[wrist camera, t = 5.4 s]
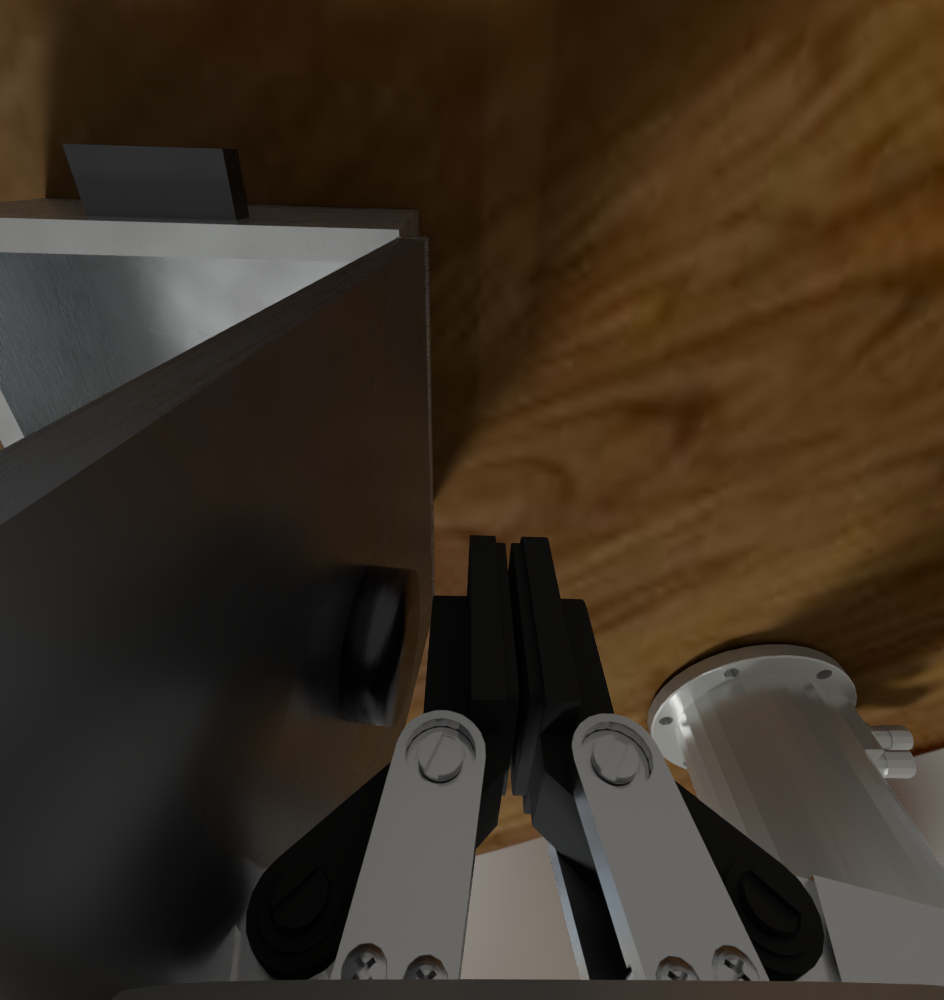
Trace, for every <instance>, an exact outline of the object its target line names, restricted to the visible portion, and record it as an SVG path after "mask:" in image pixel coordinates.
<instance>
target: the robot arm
mask: <svg viewBox="0 0 944 1000" xmlns="http://www.w3.org/2000/svg"><path fill="white" fill-rule="evenodd" d="M856 700H857V694H856V689H855V685H854V684H853V682H852V681H851V679H850V678H849V676H848V675H847V673H846V672H845V670H844V669H843V668H842V667H841V666H840V665H839V664H838V662H837V661H836V660H834V659H833V658H831V657H829V656H828V655H826V654H824V653H822V652H819V651H816V650H813V649H810V648H807V647H801V646H795V645H788V644H765V645H756V646H747V647H743V648H738V649H734V650H729V651H726V652H723V653H720V654H717V655H714V656H711V657H709V658H706V659H704V660H702V661H700V662H698V663H696V664H694V665H692V666H690V667H688V668H687V669H685V670H684V671H682V672H681V673H679V674H678V675H676V676H675V677H674V678H673V679H672V680H670V681H669V682H668V683H667V684H666V685H665V686H664V687H663V688H662V689H661V690H660V692H659V693H658V694H657V696H656V697H655V698H654V700H653V702H652V704H651V707H650V709H649V712H648V720H647V723H648V728H649V732H650V734H649V733H648V732H647V731H646V730H645V729H643V728H642V727H641V726H640V725H639V724H637V723H635V722H634V721H632V720H630V719H628V718H626V717H623V716H620V715H616V714H614V711H613V707H612V703H611V699H610V696H609V692H608V688H607V684H606V680H605V676H604V673H603V669H602V665H601V661H600V657H599V653H598V650H597V646H596V642H595V638H594V634H593V630H592V627H591V623H590V619H589V615H588V611H587V608H586V605H585V602H584V601H583V600H582V599H561V598H560V594H559V589H558V584H557V579H556V574H555V569H554V565H553V560H552V555H551V550H550V545H549V541H548V538H547V537H521V541H520V543H512V544H511V551H510V560H509V569H508V567H507V557H506V546H505V543H496V537H495V536H480V535H470V546H469V566H468V585H467V596H433V600H432V612H431V624H430V637H429V650H428V662H427V675H426V687H425V700H424V713H423V714H422V715H420V716H418V717H417V718H415V719H413V720H412V721H411V722H410V723H409V724H408V725H407V726H406V727H405V728H404V729H403V731H402V732H401V735H400V737H399V739H398V741H397V743H396V747H395V750H394V754H393V757H392V761H391V762H390V763H389V764H387V765H386V766H385V767H384V768H383V769H382V770H380V771H379V772H378V773H377V774H376V775H375V776H373V777H372V778H371V779H370V780H369V781H367V782H366V783H365V784H364V785H363V786H362V787H360V788H359V789H358V790H357V791H356V792H355V793H353V794H352V795H351V796H350V797H349V798H348V799H346V800H345V801H344V802H343V803H342V804H340V805H339V806H338V807H337V808H336V809H335V810H333V811H332V812H331V813H330V814H329V815H328V816H326V817H325V818H324V819H323V820H322V821H320V822H319V823H318V824H317V825H316V826H315V827H313V828H312V829H311V830H310V831H309V832H308V833H306V834H305V835H304V836H303V837H302V838H301V839H299V840H298V841H297V842H296V843H295V844H293V845H292V846H291V847H290V848H289V849H288V850H286V851H285V852H284V853H283V854H282V855H281V856H279V857H278V858H277V859H276V860H275V861H274V862H273V863H272V864H271V865H270V866H269V867H268V868H264V869H262V870H261V873H260V875H259V878H258V880H257V883H256V885H255V888H254V890H253V891H252V894H251V898H250V901H249V903H248V906H247V908H246V911H245V913H244V916H243V918H242V921H241V923H240V926H239V928H237V926H236V924H235V927H234V929H233V932H232V934H231V937H230V939H229V942H228V944H227V947H226V949H225V952H224V954H223V957H222V959H221V962H220V964H219V967H218V969H217V972H216V974H215V977H214V979H213V981H212V982H195V983H182V984H170V985H157V986H146V987H140V988H135V989H129V990H124V991H121V992H120V993H118V994H117V995H116V996H115V997H113V998H112V999H111V1000H944V868H943V866H942V865H941V863H940V862H939V860H938V859H937V857H936V856H935V855H934V853H933V851H932V850H931V848H930V847H929V845H928V844H927V842H926V841H925V839H924V838H923V836H922V835H921V834H920V832H919V830H918V829H917V828H916V826H915V824H914V823H913V822H912V820H911V818H910V817H909V815H908V814H907V812H906V811H905V809H904V808H903V806H902V805H901V803H900V802H899V800H898V799H897V797H896V796H895V794H894V793H893V791H892V790H891V788H890V787H889V785H888V784H887V782H886V781H885V779H884V778H911V777H913V776H914V775H915V772H916V764H915V760H914V758H913V756H912V754H911V752H910V751H909V749H911V748H912V747H913V744H914V742H913V737H912V735H911V733H910V731H909V730H908V729H907V728H906V727H905V726H901V725H878V726H870V725H869V724H867V723H866V722H864V721H863V719H862V718H861V717H860V715H859V714H858V712H857V711H856V709H855V707H856ZM663 757H664V758H666V759H667V760H669V761H670V762H672V763H673V764H676V765H678V766H680V767H682V768H685V769H688V772H689V775H690V778H691V781H692V783H693V786H694V789H695V792H696V795H697V798H696V797H695V796H694V795H693V794H691V793H690V792H689V791H687V790H686V789H685V788H684V787H682V786H681V785H680V784H678V783H677V782H676V781H674V779H673V777H672V775H671V772H670V770H669V768H668V766H667V764H666V762H665V760H664V758H663ZM509 767H510V770H511V784H512V793H513V795H520V796H523V807H524V814H531V818H532V826H533V827H534V828H535V829H536V830H537V831H538V832H539V833H540V834H541V835H542V836H543V837H544V838H545V839H546V840H547V843H548V851H549V856H550V859H551V864H552V868H553V871H554V875H555V880H556V884H557V887H558V892H559V896H560V900H561V903H562V908H563V911H564V915H565V920H566V924H567V928H568V932H569V935H570V940H571V944H572V948H573V952H574V956H575V960H576V964H577V968H578V972H579V975H580V980H502V979H500V980H498V979H497V980H494V979H491V980H490V979H481V980H479V979H473V980H472V979H460V977H461V969H462V960H463V952H464V944H465V936H466V928H467V920H468V912H469V904H470V896H471V887H472V879H473V871H474V863H475V855H476V848H477V847H478V846H479V845H480V844H481V843H482V842H483V841H484V839H485V838H486V837H487V836H488V835H489V834H490V833H491V832H492V830H493V829H494V828H495V827H496V826H497V823H498V816H499V809H500V803H501V796H502V795H505V793H506V787H507V780H508V774H509Z"/></svg>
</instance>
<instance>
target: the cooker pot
mask: <svg viewBox="0 0 944 1000" xmlns="http://www.w3.org/2000/svg"><path fill="white" fill-rule="evenodd" d="M62 145H63V148H64V151H65V154H66V157H67V160H68V163H69V166H70V169H71V172H72V174H73V177H74V180H75V183H76V186H77V189H78V192H79V195H80V198H81V199H54V198H41V199H31V200H21V201H11V202H0V440H1V442H2V444H3V445H4V447H7V446H9V445H11V444H13V443H15V442H17V441H19V440H20V439H22V438H24V437H26V436H28V435H30V434H32V433H34V432H35V431H37V430H39V429H41V428H43V427H45V426H47V425H48V424H50V423H52V422H54V421H56V420H58V419H60V418H62V417H63V416H65V415H67V414H69V413H71V412H73V411H75V410H76V409H78V408H80V407H82V406H84V405H86V404H88V403H90V402H91V401H93V400H95V399H97V398H99V397H101V396H103V395H104V394H106V393H108V392H110V391H112V390H114V389H116V388H118V387H119V386H121V385H123V384H125V383H127V382H129V381H131V380H132V379H134V378H136V377H138V376H140V375H142V374H144V373H146V372H147V371H149V370H151V369H153V368H155V367H157V366H159V365H161V364H162V363H164V362H166V361H168V360H170V359H172V358H174V357H175V356H177V355H179V354H181V353H183V352H185V351H187V350H189V349H190V348H192V347H194V346H196V345H198V344H200V343H202V342H203V341H205V340H207V339H209V338H211V337H213V336H215V335H217V334H218V333H220V332H222V331H224V330H226V329H228V328H230V327H231V326H233V325H235V324H237V323H239V322H241V321H243V320H245V319H246V318H248V317H250V316H252V315H254V314H256V313H258V312H259V311H261V310H263V309H265V308H267V307H269V306H271V305H273V304H274V303H276V302H278V301H280V300H282V299H284V298H286V297H288V296H289V295H291V294H293V293H295V292H297V291H299V290H301V289H302V288H304V287H306V286H308V285H310V284H312V283H314V282H316V281H317V280H319V279H321V278H323V277H325V276H327V275H329V274H330V273H332V272H334V271H336V270H338V269H340V268H342V267H344V266H345V265H347V264H349V263H351V262H353V261H355V260H357V259H358V258H360V257H362V256H364V255H366V254H368V253H370V252H372V251H373V250H375V249H377V248H379V247H381V246H383V245H385V244H386V243H388V242H390V241H392V240H394V239H396V237H398V236H419V210H413V209H380V208H348V207H315V206H282V205H250V204H247V201H246V195H245V190H244V184H243V179H242V174H241V168H240V163H239V157H238V152H237V149H212V148H181V147H150V146H119V145H89V144H62Z"/></svg>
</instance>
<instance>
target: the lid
mask: <svg viewBox="0 0 944 1000" xmlns="http://www.w3.org/2000/svg"><path fill="white" fill-rule="evenodd" d="M433 596H435V570H434V512H433V454H432V396H431V338H430V279H429V238H428V237H425V236H398V237H396V239H394V240H392V241H390V242H388V243H386V244H385V245H383V246H381V247H379V248H377V249H375V250H373V251H372V252H370V253H368V254H366V255H364V256H362V257H360V258H358V259H357V260H355V261H353V262H351V263H349V264H347V265H345V266H344V267H342V268H340V269H338V270H336V271H334V272H332V273H330V274H329V275H327V276H325V277H323V278H321V279H319V280H317V281H316V282H314V283H312V284H310V285H308V286H306V287H304V288H302V289H301V290H299V291H297V292H295V293H293V294H291V295H289V296H288V297H286V298H284V299H282V300H280V301H278V302H276V303H274V304H273V305H271V306H269V307H267V308H265V309H263V310H261V311H259V312H258V313H256V314H254V315H252V316H250V317H248V318H246V319H245V320H243V321H241V322H239V323H237V324H235V325H233V326H231V327H230V328H228V329H226V330H224V331H222V332H220V333H218V334H217V335H215V336H213V337H211V338H209V339H207V340H205V341H203V342H202V343H200V344H198V345H196V346H194V347H192V348H190V349H189V350H187V351H185V352H183V353H181V354H179V355H177V356H175V357H174V358H172V359H170V360H168V361H166V362H164V363H162V364H161V365H159V366H157V367H155V368H153V369H151V370H149V371H147V372H146V373H144V374H142V375H140V376H138V377H136V378H134V379H132V380H131V381H129V382H127V383H125V384H123V385H121V386H119V387H118V388H116V389H114V390H112V391H110V392H108V393H106V394H104V395H103V396H101V397H99V398H97V399H95V400H93V401H91V402H90V403H88V404H86V405H84V406H82V407H80V408H78V409H76V410H75V411H73V412H71V413H69V414H67V415H65V416H63V417H62V418H60V419H58V420H56V421H54V422H52V423H50V424H48V425H47V426H45V427H43V428H41V429H39V430H37V431H35V432H34V433H32V434H30V435H28V436H26V437H24V438H22V439H20V440H19V441H17V442H15V443H13V444H11V445H9V446H7V447H5V448H4V449H2V450H0V1000H111V999H112V998H113V997H115V996H116V995H117V994H118V993H120V992H121V991H124V990H129V989H135V988H140V987H146V986H157V985H170V984H182V983H195V982H212V981H213V979H214V977H215V974H216V972H217V969H218V967H219V964H220V962H221V959H222V957H223V954H224V952H225V949H226V947H227V944H228V942H229V939H230V937H231V934H232V932H233V929H234V927H235V924H236V926H237V928H239V926H240V923H241V921H242V918H243V916H244V913H245V911H246V908H247V906H248V903H249V901H250V898H251V894H252V891H253V890H254V888H255V885H256V883H257V880H258V878H259V875H260V873H261V870H262V869H264V868H268V867H269V866H270V865H271V864H272V863H273V862H274V861H275V860H276V859H277V858H278V857H279V856H281V855H282V854H283V853H284V852H285V851H286V850H288V849H289V848H290V847H291V846H292V845H293V844H295V843H296V842H297V841H298V840H299V839H301V838H302V837H303V836H304V835H305V834H306V833H308V832H309V831H310V830H311V829H312V828H313V827H315V826H316V825H317V824H318V823H319V822H320V821H322V820H323V819H324V818H325V817H326V816H328V815H329V814H330V813H331V812H332V811H333V810H335V809H336V808H337V807H338V806H339V805H340V804H342V803H343V802H344V801H345V800H346V799H348V798H349V797H350V796H351V795H352V794H353V793H355V792H356V791H357V790H358V789H359V788H360V787H362V786H363V785H364V784H365V783H366V782H367V781H369V780H370V779H371V778H372V777H373V776H375V775H376V774H377V773H378V772H379V771H380V770H382V769H383V768H384V767H385V766H386V765H387V764H389V763H390V762H391V761H392V757H393V754H394V750H395V747H396V743H397V741H398V739H399V737H400V735H401V732H402V731H403V729H404V728H405V725H406V721H407V717H408V713H409V709H410V704H411V700H412V696H413V692H414V688H415V684H416V680H417V676H418V672H419V668H420V664H421V660H422V656H423V651H424V647H425V643H426V639H427V635H428V631H429V627H430V623H431V612H432V600H433Z"/></svg>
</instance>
